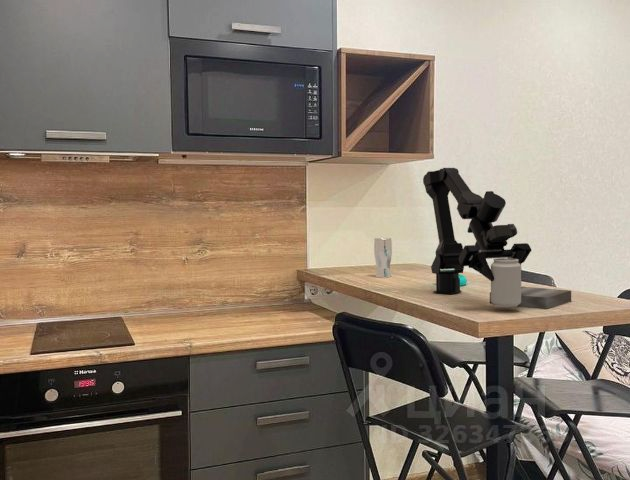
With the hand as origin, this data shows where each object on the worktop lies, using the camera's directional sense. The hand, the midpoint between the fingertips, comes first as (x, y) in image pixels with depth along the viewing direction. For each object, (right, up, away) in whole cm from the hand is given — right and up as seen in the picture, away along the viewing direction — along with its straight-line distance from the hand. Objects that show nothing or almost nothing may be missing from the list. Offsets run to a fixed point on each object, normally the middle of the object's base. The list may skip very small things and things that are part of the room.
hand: (506, 279), depth 152 cm
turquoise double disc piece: (-2, -6, +52) cm, 53 cm away
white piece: (-22, -5, +80) cm, 83 cm away
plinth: (+11, -7, +13) cm, 18 cm away
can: (0, -7, +1) cm, 7 cm away
